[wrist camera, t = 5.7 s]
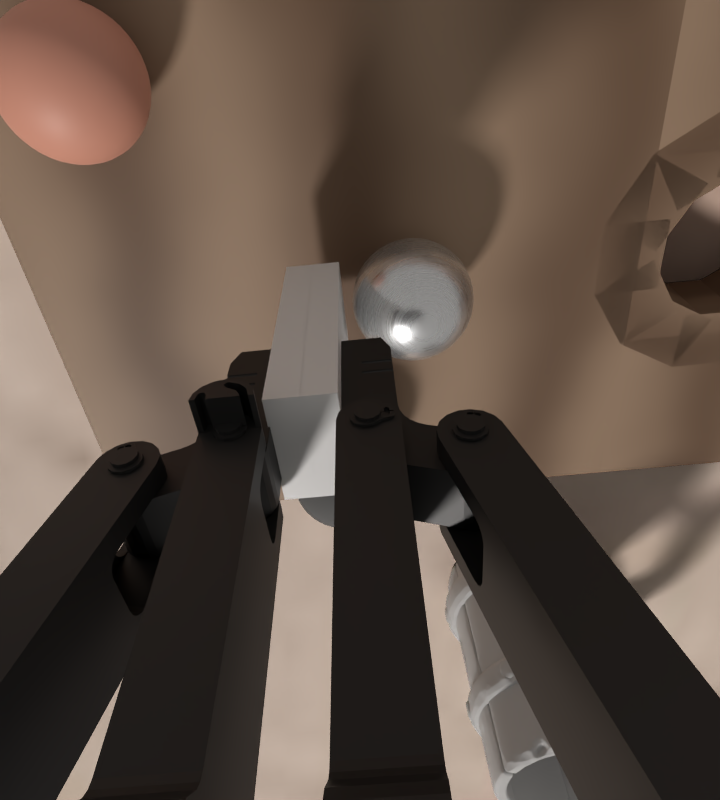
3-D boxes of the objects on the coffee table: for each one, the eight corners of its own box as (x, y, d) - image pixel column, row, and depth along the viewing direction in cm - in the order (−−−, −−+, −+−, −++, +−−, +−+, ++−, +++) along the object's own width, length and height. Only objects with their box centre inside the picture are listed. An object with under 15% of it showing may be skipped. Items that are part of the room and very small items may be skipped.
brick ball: (56, 153, 17) (-3, 190, 14) (1, 1, 15) (-80, 8, 12) (180, 139, 17) (148, 174, 14) (143, -15, 15) (96, -12, 12)
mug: (535, 502, 29) (639, 779, 19) (653, 612, 34) (783, 874, 24) (411, 577, 31) (444, 852, 22) (537, 668, 37) (611, 923, 27)
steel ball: (490, 371, 17) (458, 315, 20) (487, 254, 15) (453, 211, 18) (369, 393, 17) (355, 334, 20) (351, 279, 15) (338, 232, 18)
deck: (144, 472, 27) (128, 513, 25) (-51, -26, 16) (-106, -26, 14) (839, 410, 26) (882, 447, 24) (1093, -155, 16) (1206, -174, 14)
